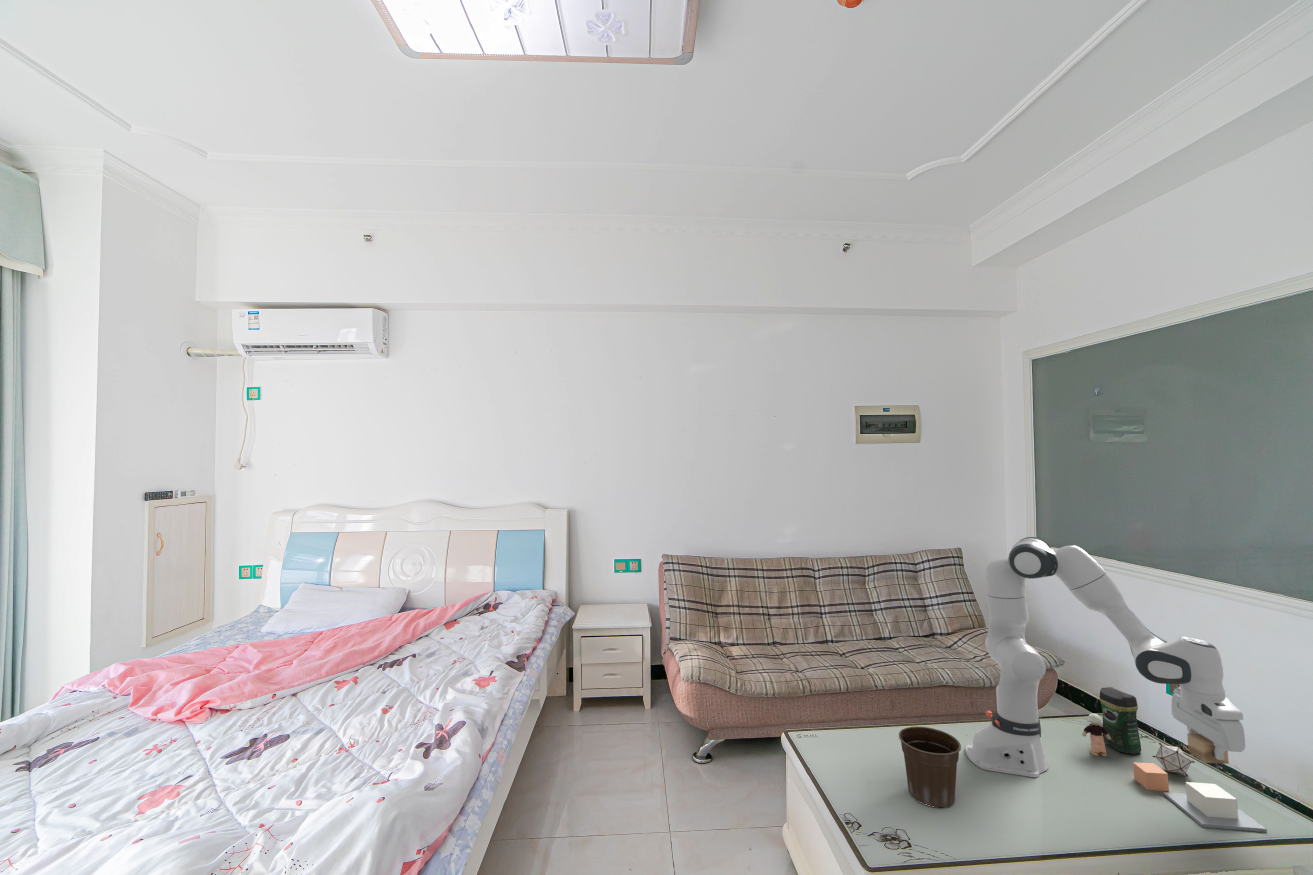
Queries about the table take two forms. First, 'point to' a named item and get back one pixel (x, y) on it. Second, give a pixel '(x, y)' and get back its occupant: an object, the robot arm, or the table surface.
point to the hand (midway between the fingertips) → (1207, 751)
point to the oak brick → (1204, 749)
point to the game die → (1173, 759)
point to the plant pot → (930, 764)
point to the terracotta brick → (1151, 776)
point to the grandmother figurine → (1096, 735)
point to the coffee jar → (1120, 720)
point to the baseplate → (1213, 820)
